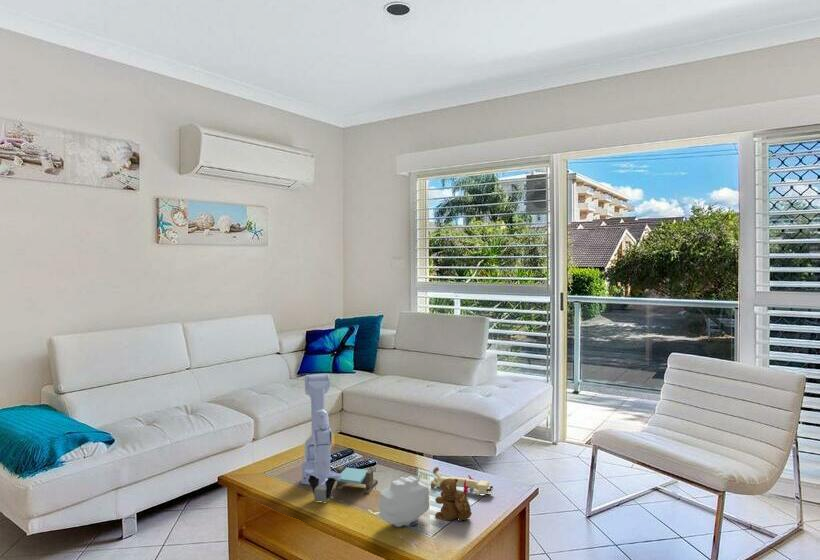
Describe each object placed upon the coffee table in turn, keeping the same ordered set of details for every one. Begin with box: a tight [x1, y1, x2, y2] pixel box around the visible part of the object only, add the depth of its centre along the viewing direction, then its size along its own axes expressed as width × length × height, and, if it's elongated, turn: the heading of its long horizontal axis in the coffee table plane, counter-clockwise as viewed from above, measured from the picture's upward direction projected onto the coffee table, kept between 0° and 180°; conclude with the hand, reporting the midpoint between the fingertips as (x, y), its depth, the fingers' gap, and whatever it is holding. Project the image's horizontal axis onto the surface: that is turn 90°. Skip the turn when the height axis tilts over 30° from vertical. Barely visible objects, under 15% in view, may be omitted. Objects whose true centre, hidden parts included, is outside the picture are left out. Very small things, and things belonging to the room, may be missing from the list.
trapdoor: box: [335, 467, 369, 485], centre depth 204 cm, size 10×11×4 cm
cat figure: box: [430, 466, 495, 496], centre depth 206 cm, size 10×9×25 cm
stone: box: [313, 484, 331, 503], centre depth 196 cm, size 4×4×5 cm
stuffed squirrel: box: [434, 479, 473, 521], centre depth 184 cm, size 10×14×13 cm
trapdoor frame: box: [335, 465, 378, 494], centre depth 209 cm, size 14×10×8 cm
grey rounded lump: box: [377, 473, 430, 528], centre depth 180 cm, size 11×18×16 cm, turn 127°
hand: (322, 496), depth 196 cm, fingers closed on stone, 4 cm apart
